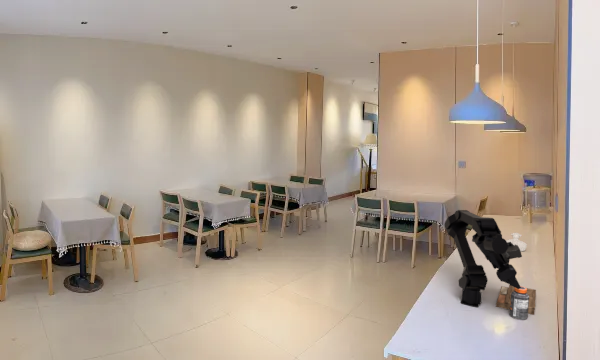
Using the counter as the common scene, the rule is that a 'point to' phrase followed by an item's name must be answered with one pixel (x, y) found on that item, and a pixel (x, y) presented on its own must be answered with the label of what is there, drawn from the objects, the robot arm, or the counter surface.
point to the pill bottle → (519, 303)
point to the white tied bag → (517, 241)
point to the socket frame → (505, 298)
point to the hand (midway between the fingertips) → (516, 282)
